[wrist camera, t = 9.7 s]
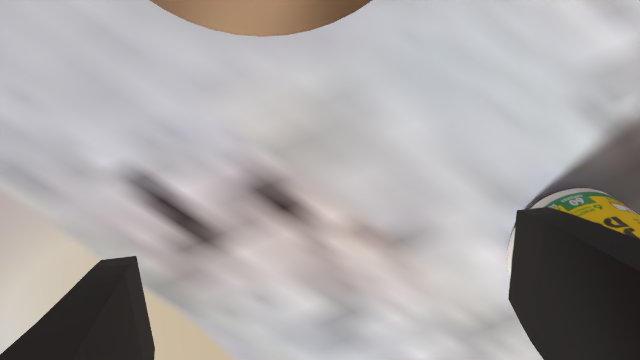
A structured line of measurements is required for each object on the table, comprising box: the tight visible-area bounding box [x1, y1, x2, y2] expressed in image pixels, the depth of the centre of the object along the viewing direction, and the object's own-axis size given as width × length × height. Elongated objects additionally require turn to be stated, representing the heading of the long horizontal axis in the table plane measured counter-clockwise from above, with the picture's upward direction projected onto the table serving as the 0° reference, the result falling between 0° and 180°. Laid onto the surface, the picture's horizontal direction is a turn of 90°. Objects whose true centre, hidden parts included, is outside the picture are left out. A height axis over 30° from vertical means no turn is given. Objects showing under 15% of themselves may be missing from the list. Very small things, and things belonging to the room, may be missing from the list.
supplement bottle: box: [506, 188, 640, 278], centre depth 20 cm, size 5×5×10 cm
